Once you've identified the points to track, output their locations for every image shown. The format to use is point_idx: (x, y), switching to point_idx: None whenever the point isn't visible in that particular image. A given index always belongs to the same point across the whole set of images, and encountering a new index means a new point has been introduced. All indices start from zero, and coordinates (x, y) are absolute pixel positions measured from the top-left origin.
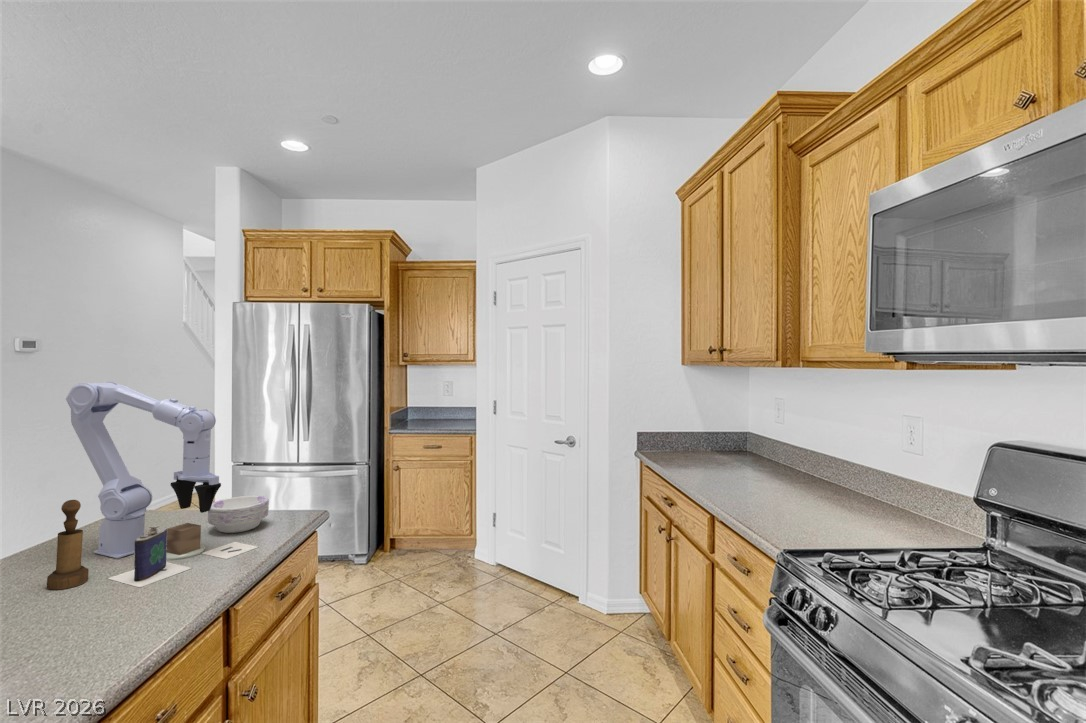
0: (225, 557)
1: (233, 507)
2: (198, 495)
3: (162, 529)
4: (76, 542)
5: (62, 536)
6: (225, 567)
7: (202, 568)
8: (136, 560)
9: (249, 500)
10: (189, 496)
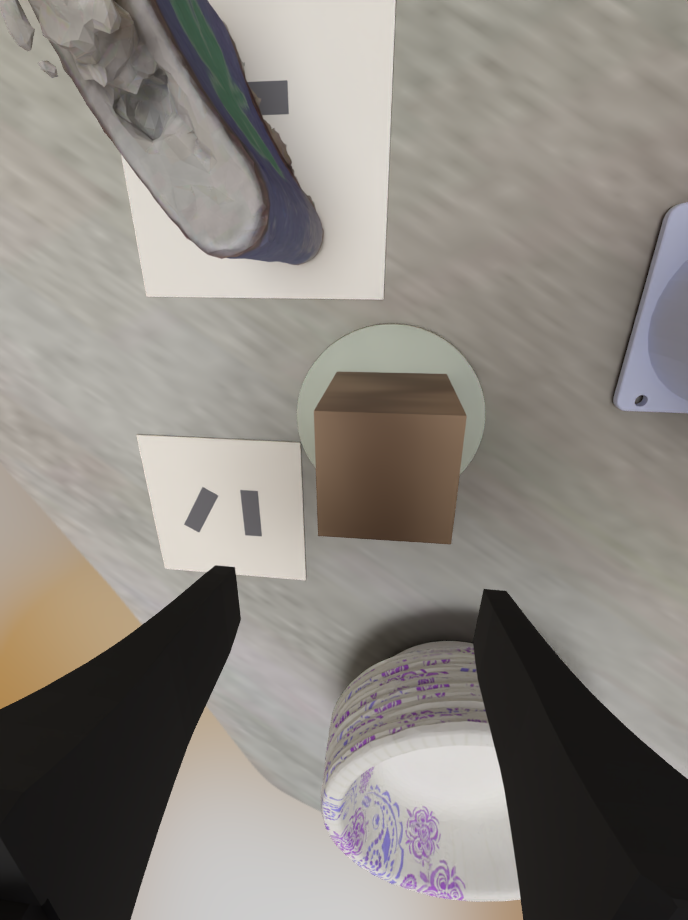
0: (156, 445)
1: None
2: (116, 684)
3: (192, 201)
4: None
5: None
6: (46, 368)
7: (112, 319)
8: None
9: (498, 862)
10: (503, 737)
